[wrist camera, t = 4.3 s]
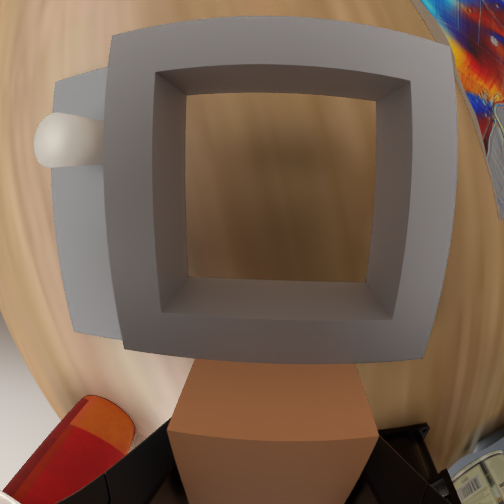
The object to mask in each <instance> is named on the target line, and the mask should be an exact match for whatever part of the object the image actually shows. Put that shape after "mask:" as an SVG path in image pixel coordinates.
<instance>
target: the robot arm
mask: <svg viewBox="0 0 504 504" xmlns="http://www.w3.org/2000/svg"><path fill="white" fill-rule="evenodd" d="M171 418H172V417H171ZM171 418H170V419H169V420H168V421H166V422H165V423H164V424H163V425H162V426H161V427H159V428H158V429H157V430H156V431H155V432H154V433H152V434H151V435H150V436H149V437H148V438H146V439H145V440H144V441H143V442H142V443H140V444H139V445H138V446H137V447H135V448H134V449H133V450H132V451H131V452H129V453H128V454H127V455H126V456H124V457H123V458H122V459H121V460H119V461H118V462H117V463H115V464H114V465H113V466H112V467H110V468H109V469H108V470H106V471H105V474H104V473H102V474H101V475H100V476H98V477H97V478H96V479H94V480H93V481H92V482H90V483H89V484H87V485H86V486H85V487H83V488H82V489H80V490H79V491H77V492H75V493H74V494H72V495H70V496H68V497H67V498H65V499H63V500H61V501H59V502H57V503H55V504H189V501H188V498H187V495H186V492H185V489H184V486H183V483H182V480H181V477H180V474H179V471H178V468H177V464H176V461H175V458H174V454H173V451H172V448H171V444H170V440H169V437H168V433H167V428H168V425H169V423H170V420H171ZM429 429H430V428H429V426H428V424H423V425H418V426H412V427H406V428H400V429H393V430H386V431H378V434H379V438H378V440H377V442H376V444H375V446H374V449H373V451H372V453H371V455H370V457H369V459H368V461H367V463H366V465H365V467H364V469H363V471H362V473H361V475H360V477H359V479H358V480H357V482H356V484H355V486H354V488H353V490H352V491H351V493H350V495H349V497H348V498H347V500H346V502H345V503H344V504H462V503H461V501H460V498H459V496H458V494H457V491H456V489H455V487H454V484H453V482H452V480H451V478H450V475H449V473H448V471H447V469H444V470H442V471H441V473H439V474H438V473H437V470H436V468H435V465H434V463H433V460H432V458H431V455H430V453H429V451H428V448H427V446H426V444H425V441H424V438H425V436H426V435H427V433H428V431H429ZM446 493H448V495H446V496H444V497H443V496H442V495H444V494H446Z"/></svg>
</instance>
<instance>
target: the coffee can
mask: <svg viewBox="0 0 504 504" xmlns="http://www.w3.org/2000/svg"><path fill="white" fill-rule="evenodd" d="M451 480H452V482H453V484H454V487H455V489H456V491H457V494H458V496H459V498H460V501H461V503H462V504H504V454H503V451H502V450H495V451H492V452H490V453H487V454H485V455H483V456H481V457H480V458H478V459H476V460H474V461H473V462H471V463H470V464H469V465H467V466H466V467H464V468H463V469H462V470H460V471H459V472H458V473H457V474H455V475H454V476H453V477H452V478H451ZM446 495H448V493H446V494H444V496H446Z"/></svg>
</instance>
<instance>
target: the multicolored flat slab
mask: <svg viewBox="0 0 504 504" xmlns="http://www.w3.org/2000/svg"><path fill="white" fill-rule="evenodd" d="M411 2H412V3H413V5H414V6H415V8H416V9H417V11H418V12H419V14H420V15H421V17H422V18H423V20H424V22H425V23H426V25H427V27H428V28H429V30H430V32H431V33H432V35H433V37H434V38H435V40H436V42H438V43H441V44H444V45H447V46H450V50H451V57H452V64H453V72H454V77H455V79H456V81H457V84H458V86H459V88H460V90H461V93H462V95H463V97H464V100H465V102H466V105H467V107H468V110H469V112H470V115H471V118H472V120H473V123H474V126H475V129H476V132H477V135H478V138H479V141H480V144H481V147H482V150H483V154H484V157H485V160H486V164H487V168H488V171H489V175H490V179H491V183H492V188H493V192H494V196H495V201H496V206H497V211H498V217H499V220H502V219H504V0H411Z"/></svg>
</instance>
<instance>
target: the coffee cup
mask: <svg viewBox="0 0 504 504" xmlns="http://www.w3.org/2000/svg"><path fill="white" fill-rule="evenodd" d="M134 434H135V427H134V424H133V422H132V420H131V419H130V417H129V416H128V415H127V414H126V413H125V412H124V411H123V410H122V409H121V408H120V407H118V406H117V405H115V404H114V403H112V402H111V401H109V400H107V399H104V398H102V397H99V396H94V395H88V396H85V397H83V398H82V399H81V400H80V401H79V402H78V403H77V404H76V405H75V406H74V407H73V408H72V409H71V411H70V412H69V413H68V414H67V415H66V416H65V417H64V418H63V420H62V421H61V422H60V423H59V424H58V425H57V426H56V428H55V429H54V430H53V431H52V432H51V433H50V434H49V436H48V437H47V438H46V439H45V440H44V441H43V443H42V444H41V445H40V446H39V447H38V449H37V450H36V451H35V452H34V454H32V456H31V457H30V458H29V459H28V460H27V462H26V463H25V464H24V465H23V466H22V468H21V469H20V470H19V471H18V472H17V474H16V475H15V476H14V477H13V478H12V480H11V481H10V482H9V483H8V485H7V486H6V487H5V488H4V489H3V491H0V504H55V503H57V502H59V501H61V500H63V499H65V498H67V497H68V496H70V495H72V494H74V493H75V492H77V491H79V490H80V489H82V488H83V487H85V486H86V485H87V484H89V483H90V482H92V481H93V480H94V479H96V478H97V477H98V476H100V475H101V474H102V473H104V474H105V471H106V470H108V469H109V468H110V467H112V466H113V465H114V464H115V463H117V462H118V461H119V460H121V459H122V458H123V457H124V456H126V455H127V453H128V451H129V448H130V445H131V443H132V440H133V437H134Z"/></svg>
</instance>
